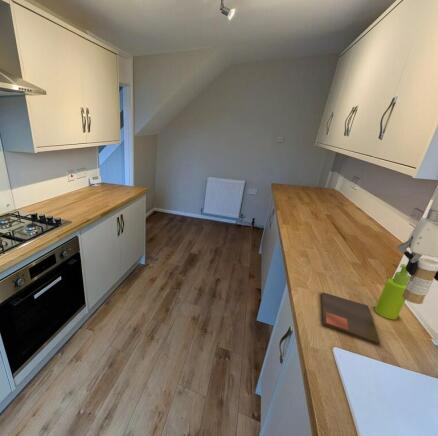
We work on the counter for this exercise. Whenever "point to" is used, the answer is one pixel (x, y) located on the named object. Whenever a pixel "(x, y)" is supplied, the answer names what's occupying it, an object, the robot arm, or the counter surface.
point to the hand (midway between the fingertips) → (422, 275)
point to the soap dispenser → (393, 295)
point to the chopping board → (348, 318)
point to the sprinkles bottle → (420, 281)
